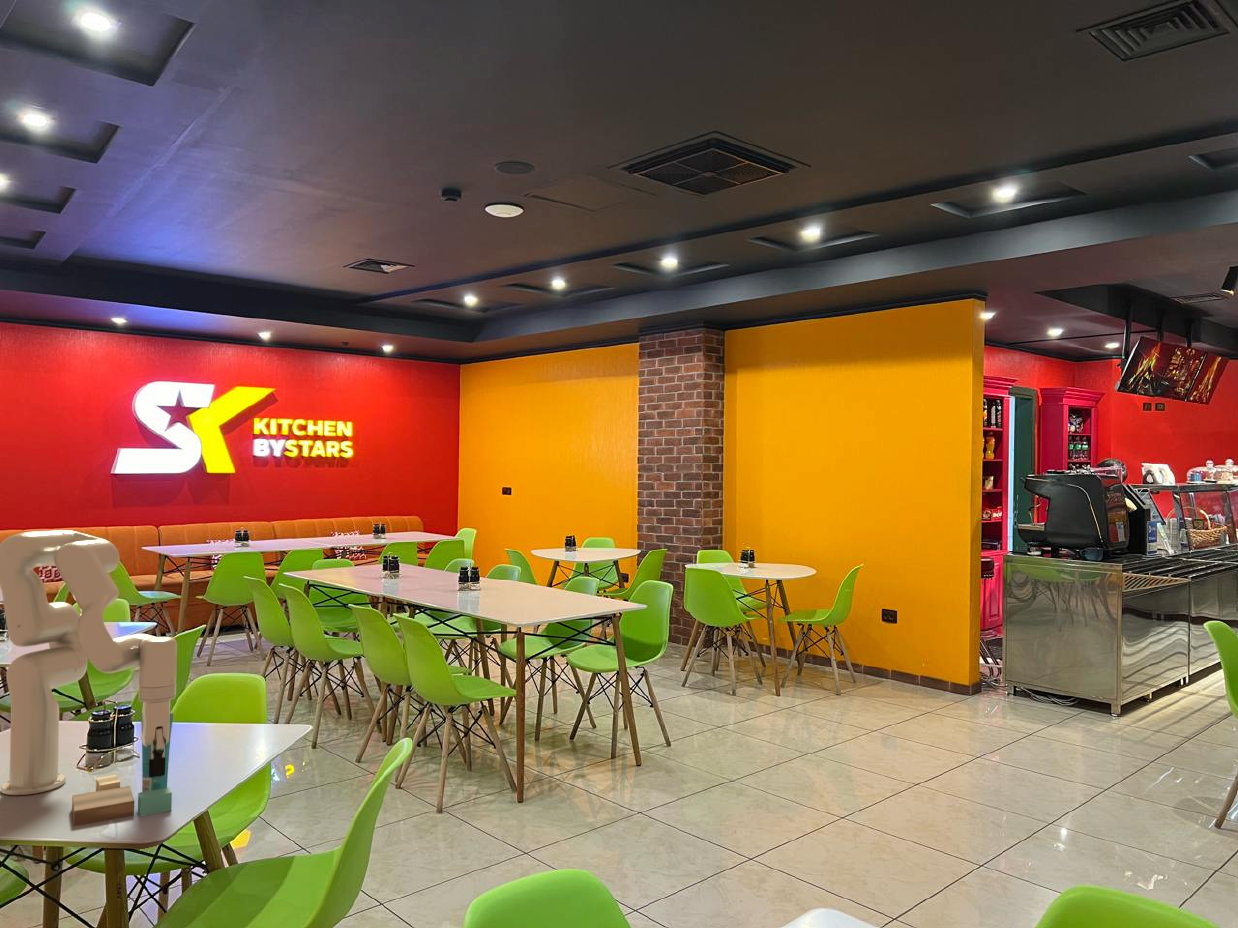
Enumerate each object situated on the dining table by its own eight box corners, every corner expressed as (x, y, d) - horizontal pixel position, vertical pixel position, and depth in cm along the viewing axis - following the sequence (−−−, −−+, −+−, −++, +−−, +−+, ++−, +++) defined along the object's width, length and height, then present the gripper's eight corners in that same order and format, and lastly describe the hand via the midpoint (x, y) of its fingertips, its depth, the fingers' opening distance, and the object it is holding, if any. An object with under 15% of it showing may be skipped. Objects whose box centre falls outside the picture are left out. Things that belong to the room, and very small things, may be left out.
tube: (175, 794, 200) (178, 710, 200) (166, 801, 195) (169, 715, 195) (141, 794, 199) (144, 710, 200) (132, 802, 194) (135, 715, 195)
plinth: (72, 808, 190) (72, 795, 190) (129, 799, 196) (129, 785, 196) (74, 825, 181) (74, 810, 181) (134, 814, 187) (134, 800, 187)
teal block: (140, 816, 186) (140, 798, 186) (137, 811, 190) (138, 792, 190) (171, 810, 190) (171, 792, 190) (168, 805, 193) (168, 787, 193)
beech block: (95, 795, 199) (96, 778, 199) (115, 791, 201) (115, 774, 201) (99, 803, 194) (99, 785, 194) (119, 799, 197) (120, 781, 197)
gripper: (135, 686, 202) (133, 765, 202) (142, 702, 188) (140, 786, 188) (171, 682, 207) (169, 759, 206) (181, 697, 193) (178, 780, 192)
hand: (155, 771), depth 197 cm, fingers closed on tube, 4 cm apart
